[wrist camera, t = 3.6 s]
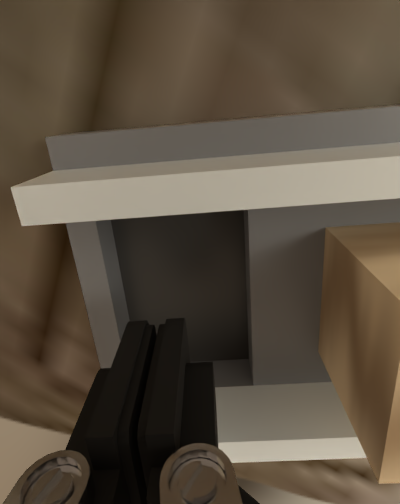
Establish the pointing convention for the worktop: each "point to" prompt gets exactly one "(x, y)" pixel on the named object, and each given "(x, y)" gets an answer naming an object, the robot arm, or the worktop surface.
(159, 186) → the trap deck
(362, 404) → the maple block
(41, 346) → the worktop surface
